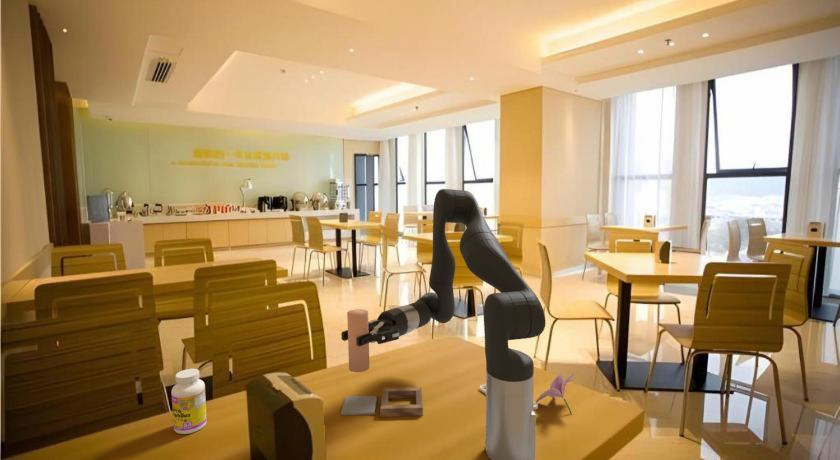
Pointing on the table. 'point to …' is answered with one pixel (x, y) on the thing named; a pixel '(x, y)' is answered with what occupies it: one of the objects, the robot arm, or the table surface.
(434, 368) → the table surface
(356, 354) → the post
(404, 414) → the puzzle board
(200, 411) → the supplement bottle
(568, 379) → the lily
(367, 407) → the mat
